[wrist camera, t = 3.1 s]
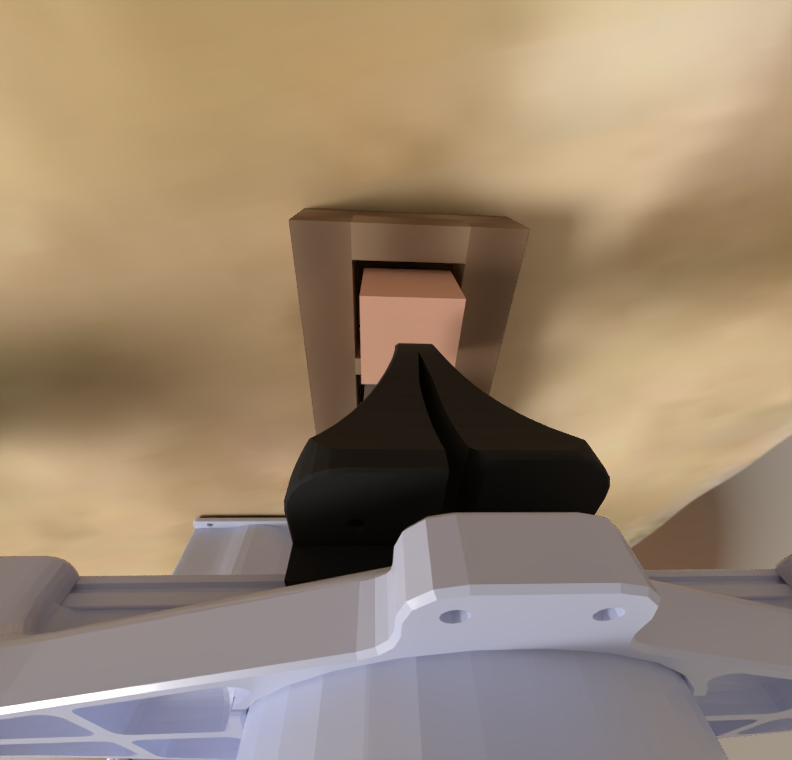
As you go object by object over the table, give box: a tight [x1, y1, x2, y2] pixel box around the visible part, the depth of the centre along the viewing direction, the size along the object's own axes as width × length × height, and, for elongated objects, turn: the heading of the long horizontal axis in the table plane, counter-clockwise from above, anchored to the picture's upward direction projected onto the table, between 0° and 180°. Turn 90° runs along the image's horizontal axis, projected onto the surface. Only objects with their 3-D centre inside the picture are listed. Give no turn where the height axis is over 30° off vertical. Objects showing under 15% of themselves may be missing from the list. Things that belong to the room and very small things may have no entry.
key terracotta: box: [359, 268, 466, 384], centre depth 15 cm, size 4×4×4 cm
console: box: [289, 209, 530, 435], centre depth 21 cm, size 10×20×3 cm, turn 178°
